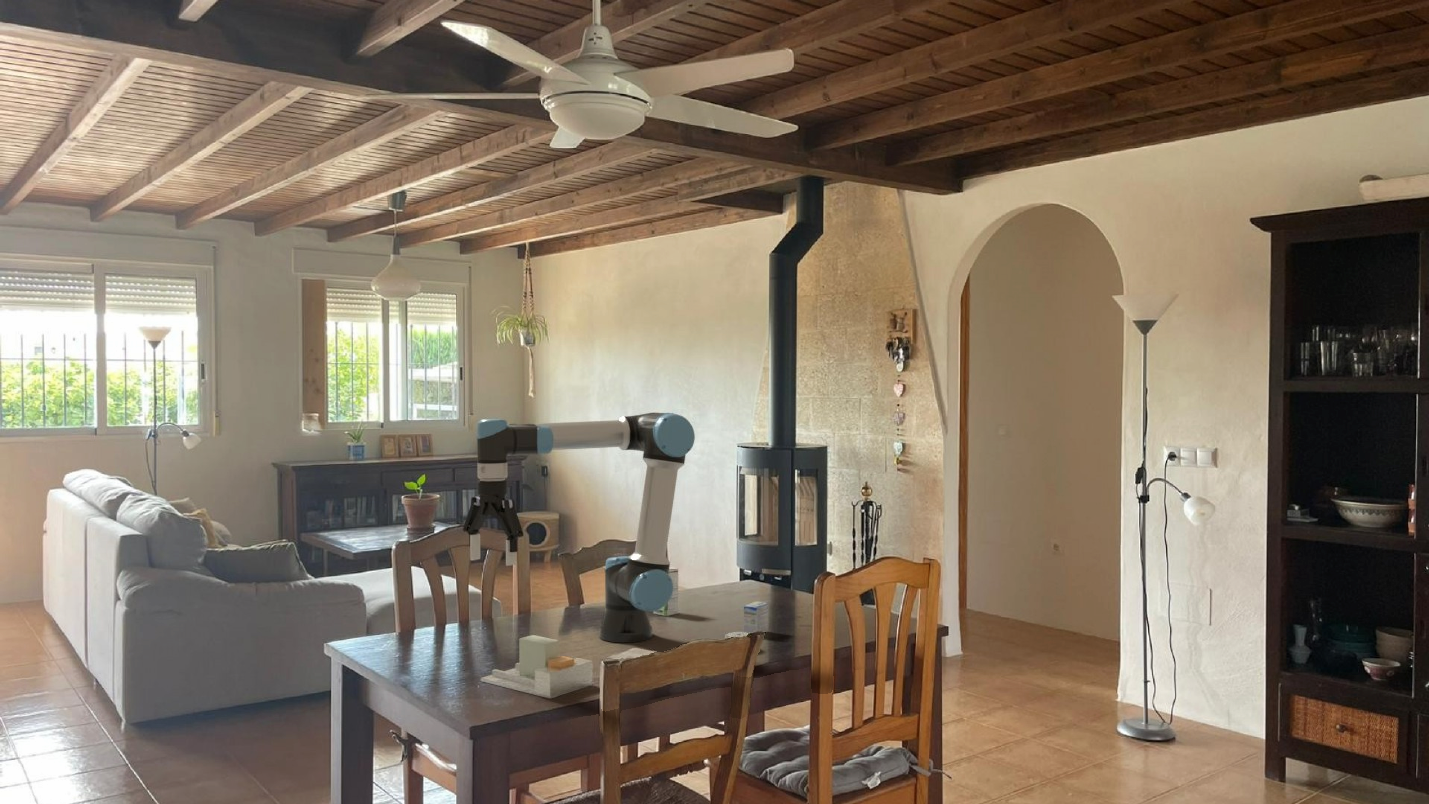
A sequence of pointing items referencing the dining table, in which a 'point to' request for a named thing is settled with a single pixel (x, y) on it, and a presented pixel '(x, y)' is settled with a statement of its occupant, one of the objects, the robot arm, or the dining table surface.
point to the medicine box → (756, 617)
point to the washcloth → (630, 654)
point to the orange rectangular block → (560, 662)
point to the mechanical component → (735, 634)
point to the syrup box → (673, 602)
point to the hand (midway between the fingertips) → (492, 562)
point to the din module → (536, 653)
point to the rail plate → (519, 682)
